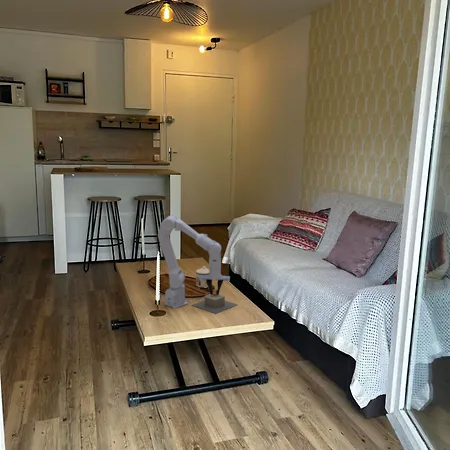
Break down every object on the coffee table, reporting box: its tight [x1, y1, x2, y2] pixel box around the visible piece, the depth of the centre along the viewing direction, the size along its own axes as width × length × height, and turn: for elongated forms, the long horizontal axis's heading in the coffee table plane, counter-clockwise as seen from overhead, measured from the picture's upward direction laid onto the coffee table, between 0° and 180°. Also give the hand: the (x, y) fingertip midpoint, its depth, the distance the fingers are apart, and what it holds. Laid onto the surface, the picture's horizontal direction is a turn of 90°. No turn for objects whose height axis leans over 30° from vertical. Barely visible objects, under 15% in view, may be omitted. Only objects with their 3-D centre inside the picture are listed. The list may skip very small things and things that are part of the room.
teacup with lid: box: [195, 266, 209, 288], centre depth 251 cm, size 12×9×12 cm
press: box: [191, 293, 238, 315], centre depth 224 cm, size 16×16×5 cm
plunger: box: [212, 289, 218, 297], centre depth 224 cm, size 5×5×6 cm
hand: (214, 294), depth 224 cm, fingers closed on plunger, 3 cm apart
